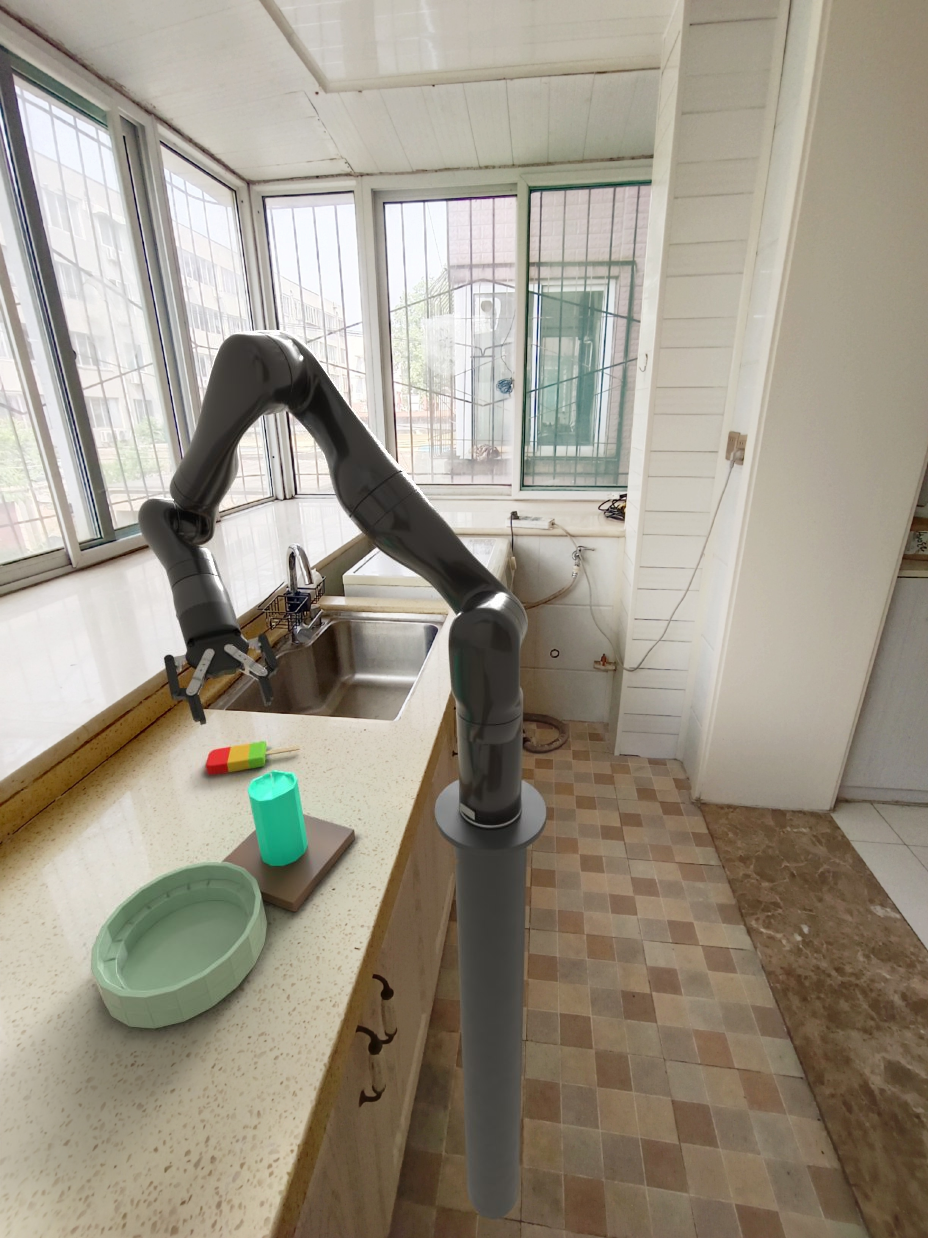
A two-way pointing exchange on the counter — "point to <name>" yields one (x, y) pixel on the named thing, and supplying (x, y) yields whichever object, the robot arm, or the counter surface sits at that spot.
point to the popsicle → (240, 757)
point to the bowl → (179, 944)
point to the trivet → (294, 863)
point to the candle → (278, 817)
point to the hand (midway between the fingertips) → (237, 713)
